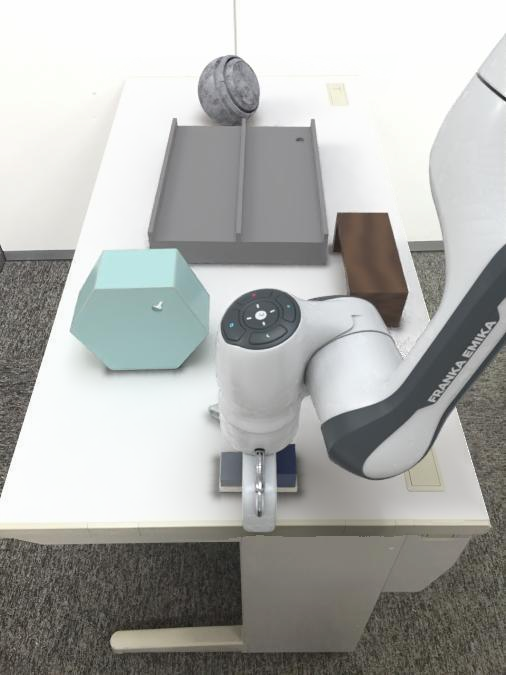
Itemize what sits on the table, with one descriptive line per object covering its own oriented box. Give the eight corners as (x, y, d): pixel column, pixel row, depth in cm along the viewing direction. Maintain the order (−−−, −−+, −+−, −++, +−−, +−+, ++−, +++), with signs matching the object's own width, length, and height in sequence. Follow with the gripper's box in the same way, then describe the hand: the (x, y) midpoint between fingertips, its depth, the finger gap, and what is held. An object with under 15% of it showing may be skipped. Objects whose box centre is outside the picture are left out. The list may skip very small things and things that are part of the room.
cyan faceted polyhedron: (165, 349, 90) (229, 271, 77) (161, 386, 85) (229, 310, 72) (66, 314, 83) (118, 221, 70) (56, 353, 77) (111, 261, 65)
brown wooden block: (379, 247, 100) (387, 212, 94) (398, 327, 87) (409, 292, 81) (331, 247, 100) (337, 212, 94) (343, 326, 87) (350, 292, 81)
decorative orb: (243, 142, 124) (242, 76, 113) (189, 128, 128) (183, 64, 117) (268, 113, 133) (270, 50, 122) (217, 102, 137) (214, 39, 126)
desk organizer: (152, 262, 97) (147, 232, 92) (176, 146, 123) (172, 117, 118) (324, 264, 97) (329, 234, 92) (312, 147, 123) (315, 118, 118)
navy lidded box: (295, 461, 72) (297, 442, 68) (296, 492, 69) (299, 474, 65) (220, 460, 72) (219, 442, 68) (219, 491, 69) (217, 474, 65)
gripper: (292, 504, 52) (285, 552, 62) (284, 342, 65) (280, 404, 75) (227, 504, 52) (231, 552, 62) (233, 342, 65) (235, 404, 75)
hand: (258, 470), depth 69 cm, fingers closed on navy lidded box, 4 cm apart
